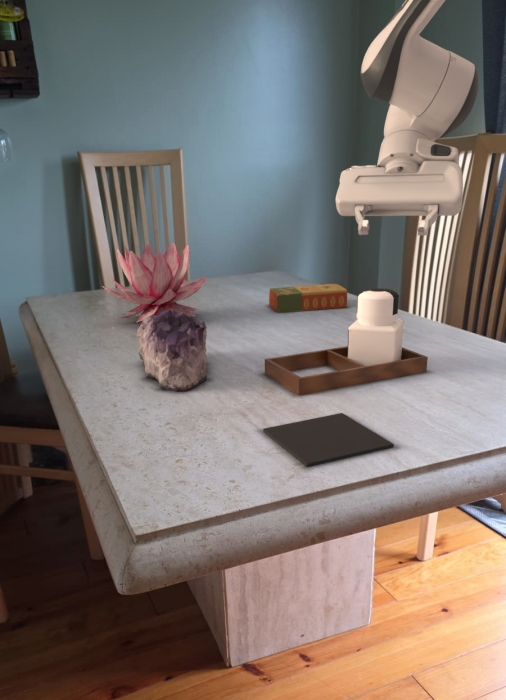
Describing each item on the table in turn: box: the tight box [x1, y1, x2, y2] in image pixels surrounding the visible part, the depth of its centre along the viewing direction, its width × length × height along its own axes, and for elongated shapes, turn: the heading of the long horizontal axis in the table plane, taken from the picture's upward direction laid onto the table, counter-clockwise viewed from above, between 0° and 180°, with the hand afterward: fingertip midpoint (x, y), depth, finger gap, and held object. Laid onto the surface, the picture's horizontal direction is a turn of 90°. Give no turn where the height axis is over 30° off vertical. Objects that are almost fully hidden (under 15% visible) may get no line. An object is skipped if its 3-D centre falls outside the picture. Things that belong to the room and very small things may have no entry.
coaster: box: [262, 412, 395, 468], centre depth 72 cm, size 11×11×1 cm
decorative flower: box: [101, 242, 209, 324], centre depth 130 cm, size 21×21×15 cm
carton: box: [268, 283, 348, 314], centre depth 139 cm, size 8×16×4 cm, turn 100°
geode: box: [136, 310, 208, 392], centre depth 96 cm, size 20×12×10 cm, turn 14°
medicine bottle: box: [347, 287, 405, 366], centre depth 94 cm, size 7×7×12 cm
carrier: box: [264, 345, 429, 396], centre depth 94 cm, size 22×11×2 cm, turn 114°
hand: (392, 232), depth 99 cm, fingers open, 8 cm apart
